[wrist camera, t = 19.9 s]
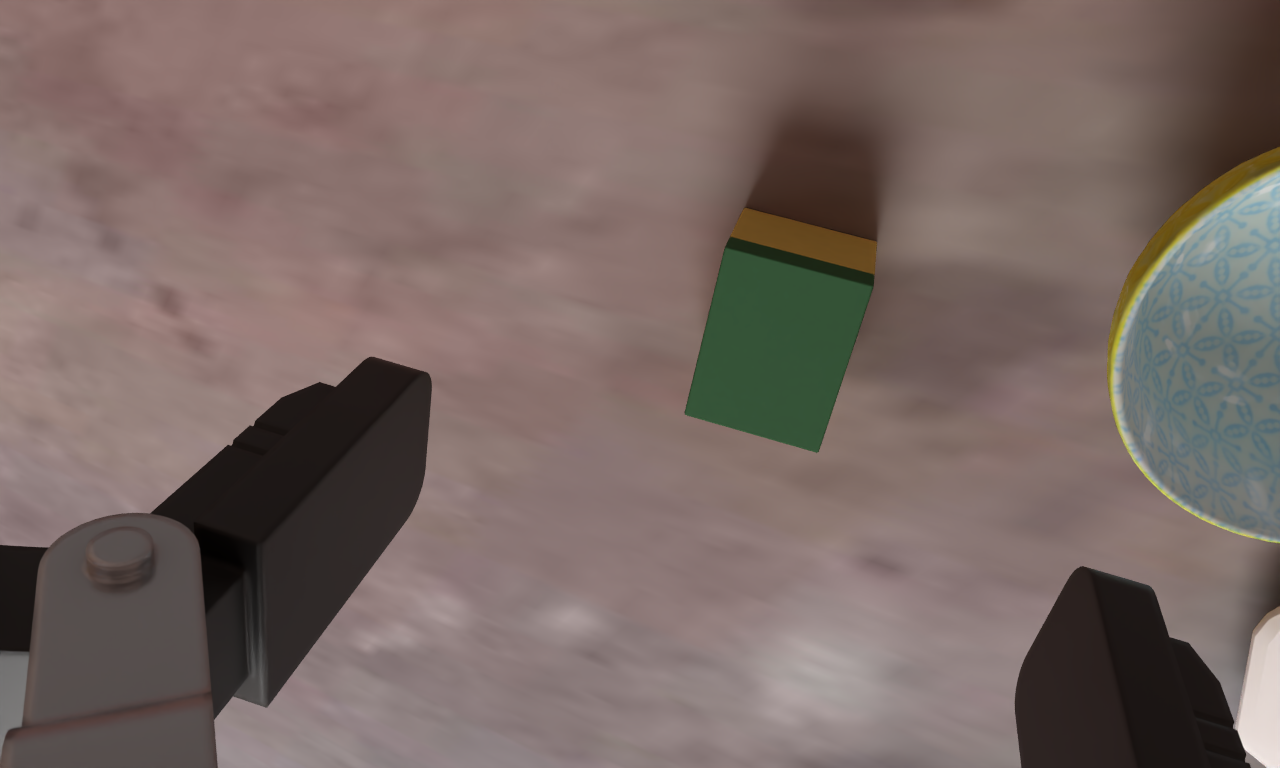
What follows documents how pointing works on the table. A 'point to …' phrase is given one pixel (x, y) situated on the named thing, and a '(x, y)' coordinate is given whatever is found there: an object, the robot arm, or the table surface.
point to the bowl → (1207, 353)
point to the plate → (1262, 693)
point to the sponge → (781, 328)
